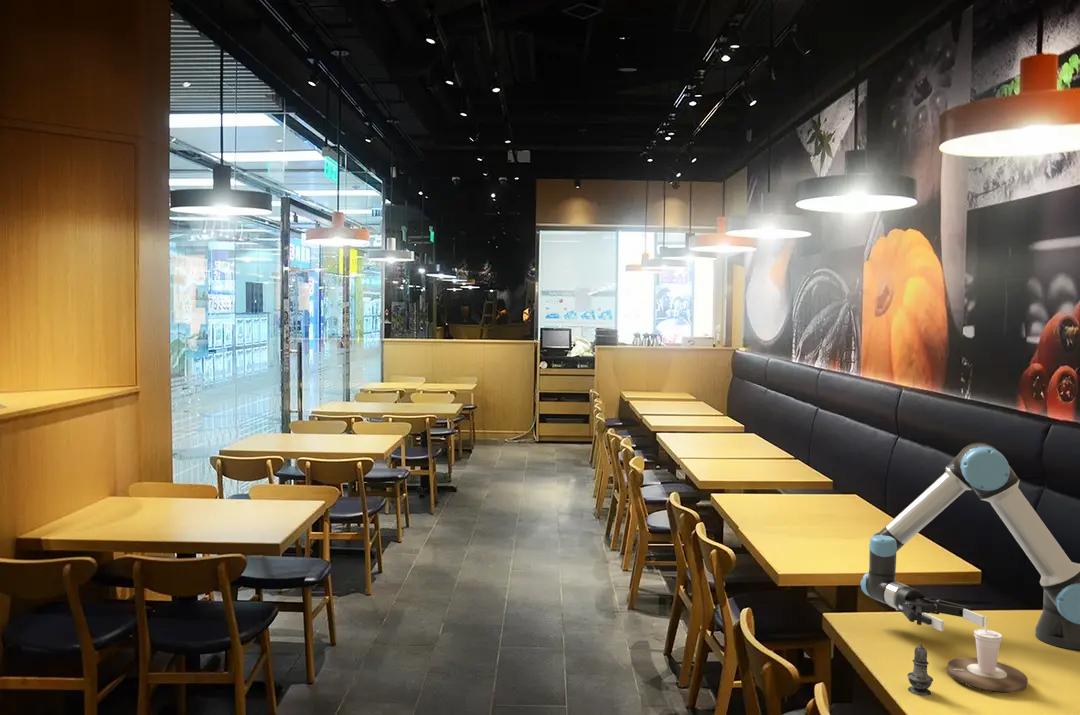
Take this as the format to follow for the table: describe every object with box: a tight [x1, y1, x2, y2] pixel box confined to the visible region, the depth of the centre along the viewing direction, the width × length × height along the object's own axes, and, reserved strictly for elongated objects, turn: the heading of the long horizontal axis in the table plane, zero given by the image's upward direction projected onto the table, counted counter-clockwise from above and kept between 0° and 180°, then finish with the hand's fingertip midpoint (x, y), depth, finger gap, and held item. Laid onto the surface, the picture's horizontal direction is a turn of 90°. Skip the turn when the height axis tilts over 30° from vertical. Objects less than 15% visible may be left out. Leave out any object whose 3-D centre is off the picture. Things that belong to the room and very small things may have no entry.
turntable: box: [946, 657, 1029, 693], centre depth 206 cm, size 18×18×2 cm
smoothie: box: [973, 615, 1003, 674], centre depth 206 cm, size 6×6×14 cm
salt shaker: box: [906, 643, 934, 697], centre depth 199 cm, size 6×6×12 cm
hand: (963, 623), depth 214 cm, fingers open, 13 cm apart
